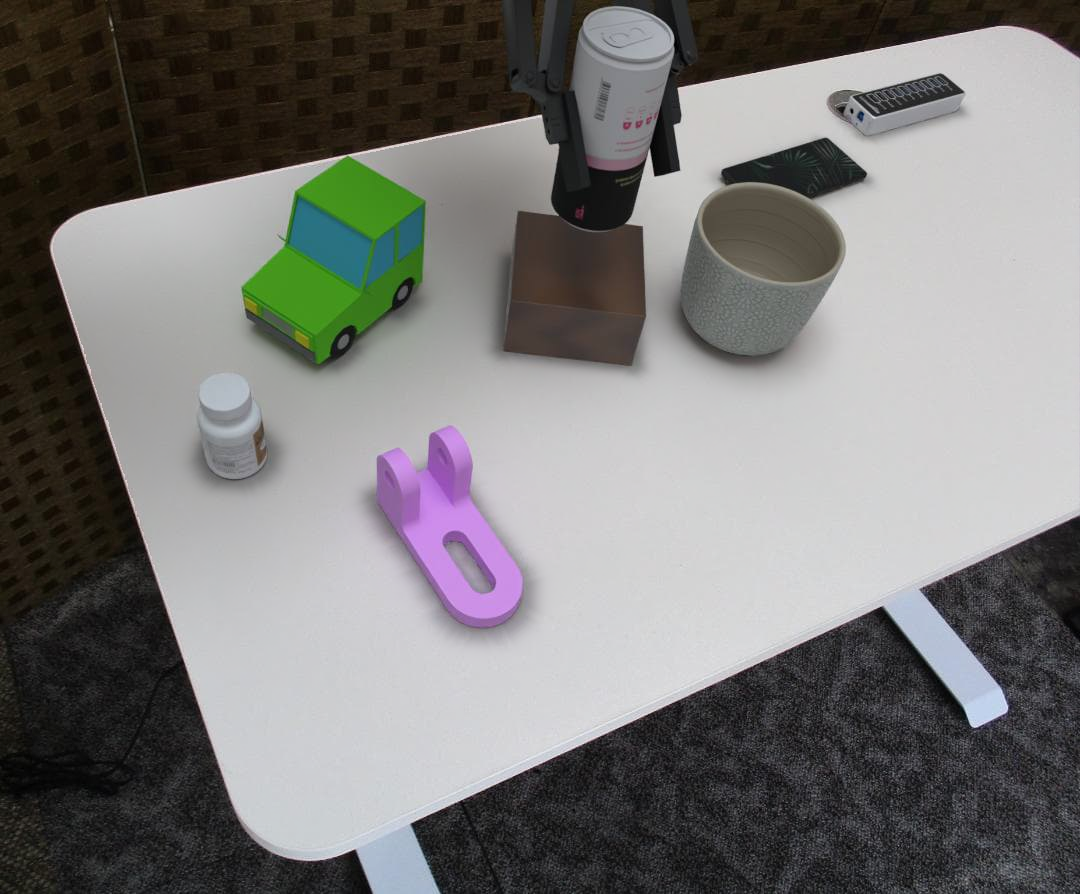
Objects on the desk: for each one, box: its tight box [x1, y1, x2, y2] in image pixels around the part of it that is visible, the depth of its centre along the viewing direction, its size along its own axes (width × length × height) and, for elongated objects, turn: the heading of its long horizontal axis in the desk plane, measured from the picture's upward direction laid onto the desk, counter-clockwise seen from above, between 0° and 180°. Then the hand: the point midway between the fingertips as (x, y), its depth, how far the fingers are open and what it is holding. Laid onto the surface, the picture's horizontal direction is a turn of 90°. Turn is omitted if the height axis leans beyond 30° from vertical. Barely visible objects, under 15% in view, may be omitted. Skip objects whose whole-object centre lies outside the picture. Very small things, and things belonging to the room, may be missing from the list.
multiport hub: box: [842, 72, 967, 137], centre depth 112 cm, size 4×14×2 cm, turn 119°
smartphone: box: [720, 137, 868, 199], centre depth 103 cm, size 7×1×15 cm
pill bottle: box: [196, 372, 268, 480], centre depth 71 cm, size 4×4×8 cm
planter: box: [680, 182, 847, 356], centre depth 85 cm, size 12×12×11 cm
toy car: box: [240, 155, 427, 365], centre depth 80 cm, size 10×13×10 cm
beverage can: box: [550, 5, 674, 232], centre depth 72 cm, size 7×7×15 cm
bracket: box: [376, 424, 524, 629], centre depth 69 cm, size 13×6×7 cm, turn 33°
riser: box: [502, 210, 647, 366], centre depth 85 cm, size 11×11×6 cm
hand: (623, 180), depth 72 cm, fingers closed on beverage can, 6 cm apart
